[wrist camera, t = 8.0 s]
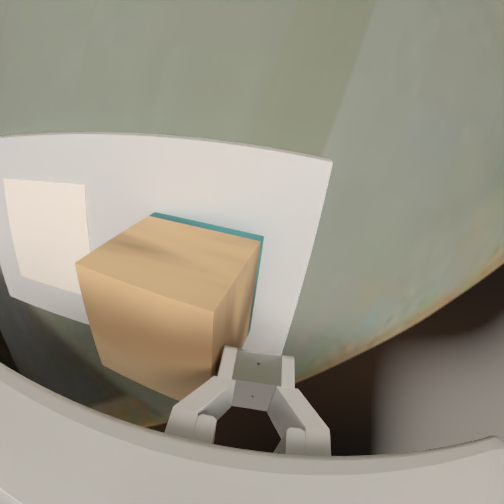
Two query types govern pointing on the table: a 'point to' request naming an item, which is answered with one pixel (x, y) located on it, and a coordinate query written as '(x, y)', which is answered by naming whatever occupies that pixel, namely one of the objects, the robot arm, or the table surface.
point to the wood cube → (170, 300)
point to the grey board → (154, 210)
